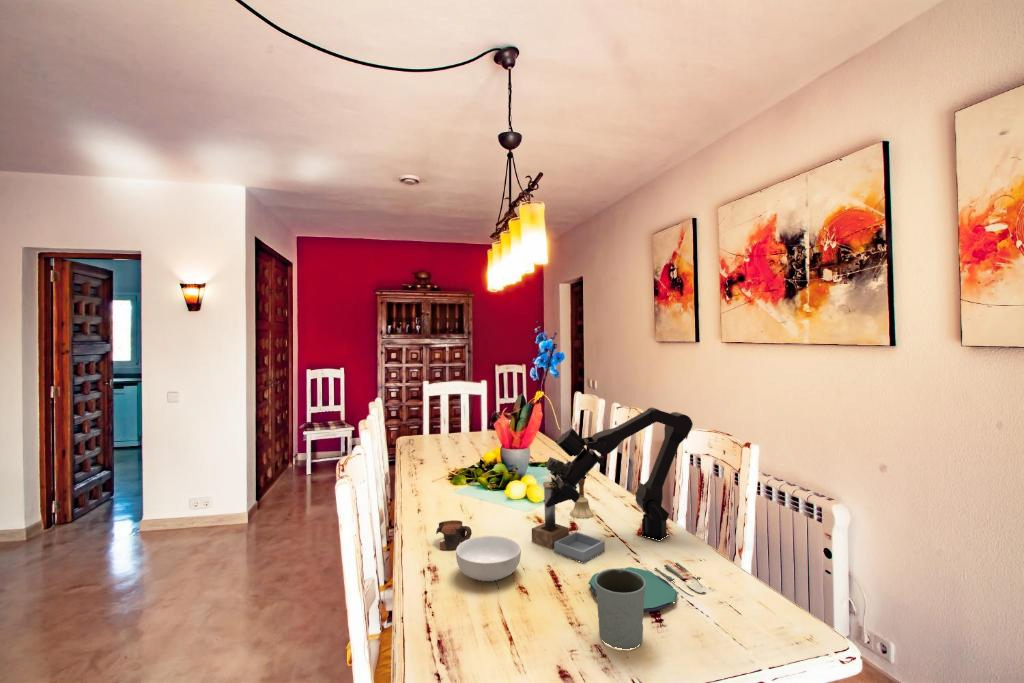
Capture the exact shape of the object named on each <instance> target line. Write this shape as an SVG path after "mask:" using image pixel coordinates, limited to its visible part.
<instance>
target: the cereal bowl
mask: <svg viewBox="0 0 1024 683" xmlns="http://www.w3.org/2000/svg"><path fill="white" fill-rule="evenodd" d="M521 556H522V548H521V545H520V544H519V542H517V541H516V540H513V539H511V538H508V537H507V536H506V537H504V536H501V535H480V536H474V537H470V538H469V539H468V540H465V541H464V542H462V543H461V542H460V544H459V545H458V547H457V549H455V559H456V563H457V566H458V568H459V569H460V571H461V572H462V573H463V574H464V575H465V576H467V577H469V578H471V579H474V580H477V581H480V580H482V581H481V582H484V581H492V582H495V581H494V580H496V581H498V579H499V580H501V579H504V578H506V577H508V576H510V575H511V574H513V573H514V572H515V571H516V569H517V568H518V566H519V564H520V562H521V561H520V560H521Z"/></svg>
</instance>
